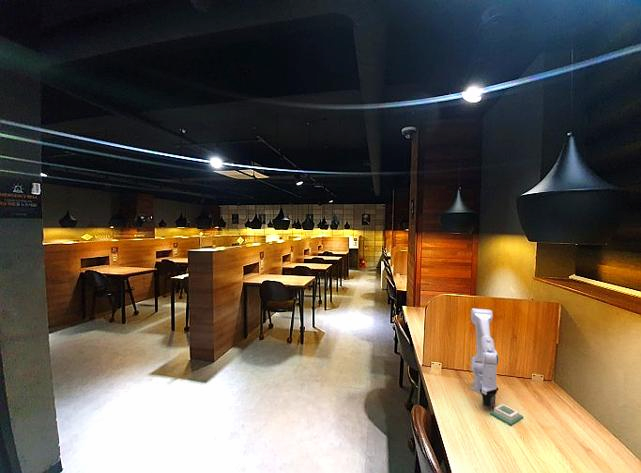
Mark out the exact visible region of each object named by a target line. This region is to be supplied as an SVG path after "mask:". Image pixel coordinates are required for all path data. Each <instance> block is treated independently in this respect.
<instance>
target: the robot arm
mask: <svg viewBox="0 0 641 473" xmlns="http://www.w3.org/2000/svg"><path fill="white" fill-rule="evenodd" d="M493 317H494V315H493V310H491V309H484V308H474V307H473V308H471V310H470V319H471V320H470V321H471V323H472V324H474V326H475V340H476V342H475V343H476V354H475V355H474V356H472V357H471V361H470V368H471V372H472V373H473V374H474V375H473V386H471V387H470V389H471V390H473V391H475V392H476V393H479V394H481V396H482V402H483V401H484V405H486V406H488V407H489V406H490V403H491V398H492V396H493V395H495V396H496V394H497V392H498V391H499V388H498V387H497V368H498V367H497V365H499V355H498V352H497V349H496V347H495V342H494V338H492V337H491V330H490V324H491V323H492V320H493Z"/></svg>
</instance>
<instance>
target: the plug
mask: <svg viewBox="0 0 641 473" xmlns="http://www.w3.org/2000/svg"><path fill="white" fill-rule="evenodd" d="M496 399H497V398H496V395H493V396H492V398H491V403H490V406H489V407H488V406H486V405H484V401H483V400H482V407H484V408H485V409H487V410H489V411H493V410H494V408H495V407H497V406H498V405H496Z"/></svg>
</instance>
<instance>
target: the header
mask: <svg viewBox="0 0 641 473" xmlns="http://www.w3.org/2000/svg"><path fill="white" fill-rule="evenodd" d="M496 406H497V407H495V408H494V409H493V410H494V412H495V413H497V414H498V415H500V416H502V417H504V418H506V419H508V420H509V421H512V420H514V419H515V418H517V417H519V414H520V411H518V410H516V409H514V408H512V407H510V406H508V405H506V404H504V403H500V404H498V405H496ZM502 410H505V411H507V412H509V413H511V414H510V415H509V414H507V413H505V412H503V411H502Z"/></svg>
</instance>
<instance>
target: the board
mask: <svg viewBox="0 0 641 473" xmlns="http://www.w3.org/2000/svg"><path fill="white" fill-rule="evenodd" d="M502 411H503V412H505V413H507V414H509V415H510V414H511V413H509V412H507V411H505V410H502ZM489 415H490V416H492V417H494V418H496V419H497V420H499V421H501V422H503V423H505V424H506V425H508V426H510V427H511V426H513V425H515V424H516V423H518V422H520V421H521V420H522V419H524V415H522V414H520V413H519V417H517V418H515V419H514V420H512V421H509V420H508V419H506V418H504V417H502V416H500V415H498V414H497V413H495V412H494V409H493V410H490V412H489Z"/></svg>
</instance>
